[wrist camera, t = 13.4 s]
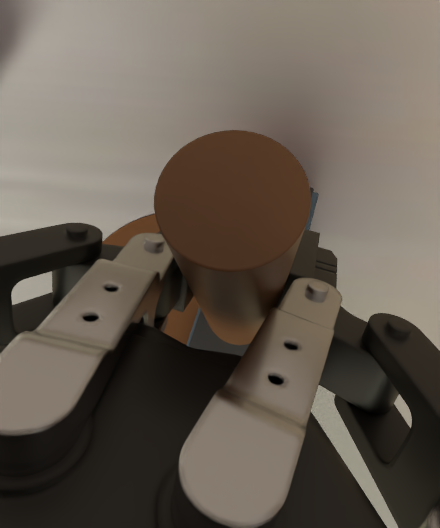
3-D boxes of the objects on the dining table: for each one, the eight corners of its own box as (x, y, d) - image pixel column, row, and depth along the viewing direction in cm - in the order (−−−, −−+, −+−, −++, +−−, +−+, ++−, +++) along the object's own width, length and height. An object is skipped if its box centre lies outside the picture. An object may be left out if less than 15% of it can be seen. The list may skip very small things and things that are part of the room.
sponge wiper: (156, 459, 17) (-56, 607, 5) (243, 194, 21) (239, -84, 9) (237, 488, 17) (216, 734, 5) (312, 211, 20) (409, -60, 8)
